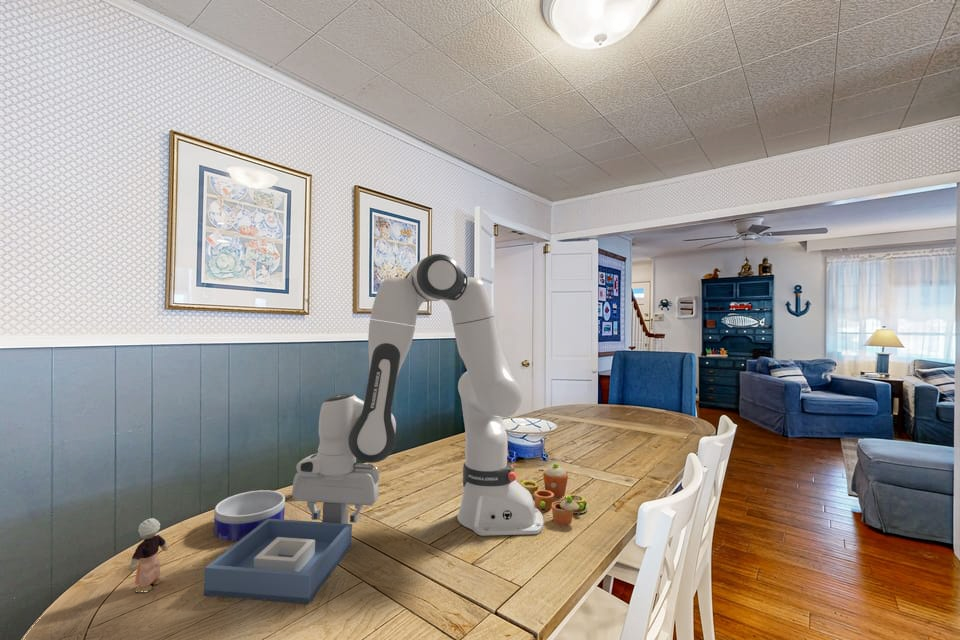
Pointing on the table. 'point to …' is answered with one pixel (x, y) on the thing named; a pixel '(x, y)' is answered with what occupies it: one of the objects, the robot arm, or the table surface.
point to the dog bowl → (246, 513)
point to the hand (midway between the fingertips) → (335, 520)
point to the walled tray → (279, 561)
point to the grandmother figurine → (148, 555)
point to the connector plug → (335, 513)
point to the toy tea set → (556, 495)
